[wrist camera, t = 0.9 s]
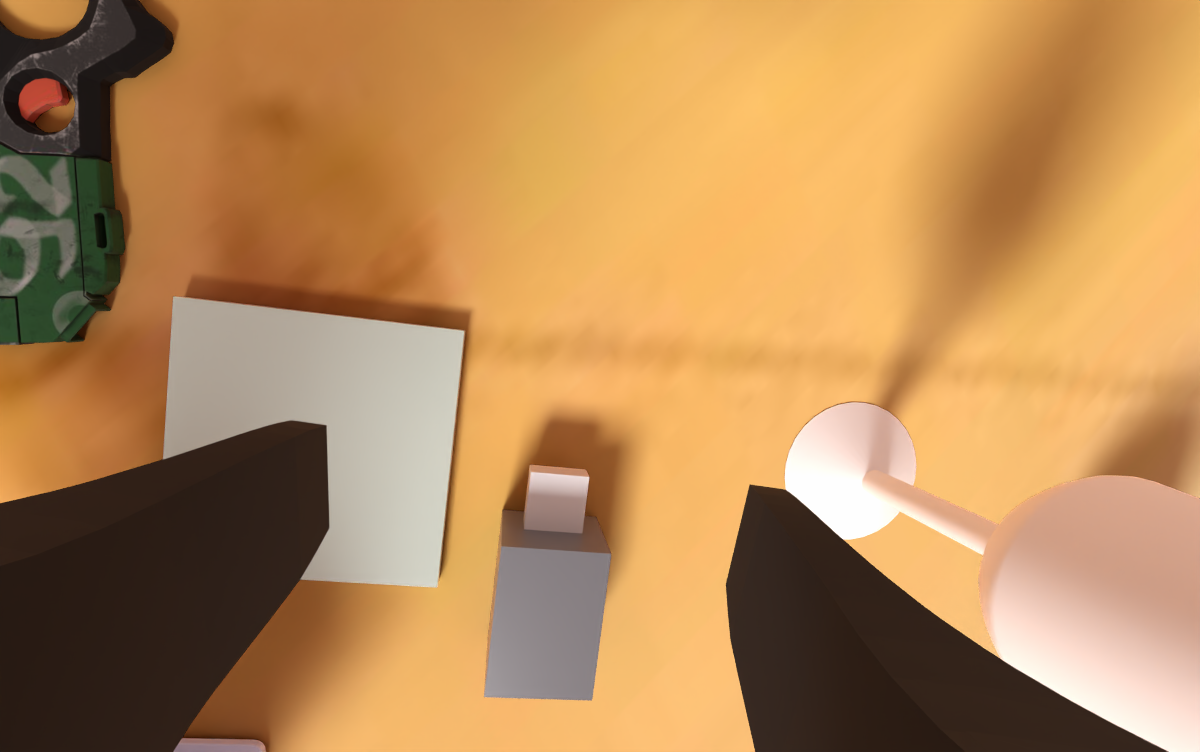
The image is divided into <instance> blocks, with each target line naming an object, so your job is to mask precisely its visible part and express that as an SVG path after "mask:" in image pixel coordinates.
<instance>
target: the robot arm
mask: <svg viewBox="0 0 1200 752" xmlns="http://www.w3.org/2000/svg"><path fill="white" fill-rule="evenodd" d="M329 528H330V526H329V491H328V456H327V425H322V424H315V423H308V422H301V421H294V420H289V421H284V422H279V423H275V424H271V425H268V426H264V427H261V428H258V429H254V430H251V431H248V432H245V433H242V434H239V435H236V436H233V437H230V438H227V439H224V440H221V441H218V442H215V443H212V444H209V445H206V446H203V447H200V448H197V449H194V450H191V451H188V452H185V453H182V454H179V455H176V456H172V457H169V458H166V459H163V460H160V461H156V462H153V463H150V464H147V465H143V466H140V467H137V468H133V469H130V470H127V471H123V472H120V473H117V474H113V475H110V476H107V477H104V478H100V479H97V480H93V481H90V482H86V483H82V484H79V485H75V486H71V487H67V488H63V489H60V490H56V491H52V492H48V493H43V494H39V495H35V496H30V497H26V498H22V499H17V500H13V501H9V502H4V503H0V752H266V749H265V746H264V744H263V743H262V742H260V741H259V740H250V739H201V738H182V737H183V736H184V734H185V733H186V731H187V729H188V728H189V726H190V725H191V723H192V722H193V720H194V719H195V717H196V716H197V714H198V713H199V712H200V710H201V709H202V707H203V706H204V705H205V703H206V702H207V700H208V699H209V698H210V696H211V695H212V693H213V692H214V691H215V689H216V688H217V687H218V686H219V684H220V683H221V682H222V680H223V679H224V678H225V676H226V675H227V674H228V673H229V671H230V670H231V669H232V667H233V666H234V665H235V664H236V662H237V661H238V660H239V658H240V657H241V656H242V655H243V653H244V652H245V651H246V649H247V648H248V647H249V646H250V644H251V643H252V642H253V640H254V639H255V638H256V637H257V635H258V634H259V633H260V631H261V630H262V629H263V628H264V626H265V625H266V624H267V622H268V621H269V620H270V619H271V617H272V616H273V615H274V613H275V612H276V611H277V609H278V608H279V607H280V605H281V604H282V603H283V602H284V600H285V599H286V598H287V596H288V595H289V594H290V592H291V591H292V590H293V588H294V587H295V586H296V584H297V583H298V582H299V580H300V579H301V577H302V576H303V574H304V572H305V571H306V569H307V567H308V566H309V564H310V562H311V561H312V559H313V557H314V556H315V554H316V552H317V550H318V548H319V546H320V545H321V543H322V541H323V539H324V537H325V535H326V534H327V532H328V530H329ZM726 592H727V606H728V618H729V629H730V639H731V644H732V649H733V653H734V658H735V663H736V667H737V672H738V676H739V681H740V686H741V690H742V695H743V699H744V703H745V708H746V712H747V717H748V721H749V726H750V730H751V735H752V739H753V744H754V748H755V752H1168V751H1166V750H1164V749H1162V748H1161V747H1159V746H1157V745H1155V744H1153V743H1151V742H1149V741H1147V740H1145V739H1143V738H1141V737H1139V736H1137V735H1135V734H1133V733H1131V732H1129V731H1127V730H1125V729H1123V728H1121V727H1119V726H1117V725H1115V724H1113V723H1111V722H1109V721H1107V720H1106V719H1104V718H1102V717H1100V716H1098V715H1096V714H1095V713H1093V712H1091V711H1089V710H1087V709H1085V708H1083V707H1082V706H1080V705H1078V704H1076V703H1074V702H1072V701H1071V700H1069V699H1067V698H1065V697H1064V696H1062V695H1060V694H1058V693H1057V692H1055V691H1053V690H1052V689H1050V688H1048V687H1047V686H1045V685H1043V684H1041V683H1040V682H1038V681H1036V680H1035V679H1033V678H1031V677H1030V676H1028V675H1026V674H1024V673H1023V672H1021V671H1019V670H1018V669H1016V668H1014V667H1013V666H1011V665H1009V664H1008V663H1006V662H1005V661H1003V660H1002V659H1000V658H998V657H997V656H995V655H994V654H992V653H990V652H989V651H987V650H986V649H984V648H983V647H981V646H980V645H978V644H977V643H975V642H974V641H972V640H971V639H970V638H968V637H967V636H965V635H964V634H962V633H961V632H959V631H958V630H956V629H955V628H953V627H952V626H951V625H949V624H948V623H946V622H945V621H943V620H942V619H940V618H939V617H938V616H936V615H935V614H934V613H932V612H931V611H929V610H928V609H927V608H925V607H924V606H923V605H921V604H920V603H919V602H917V601H916V600H915V599H914V598H912V597H911V596H910V595H909V594H907V593H906V592H905V591H904V590H902V589H901V588H900V587H898V586H897V585H896V584H895V583H893V582H892V581H891V580H890V579H888V578H887V577H886V576H885V575H884V574H882V573H881V572H880V571H879V570H878V569H876V568H875V567H874V566H873V565H872V564H870V563H869V562H868V561H867V560H866V559H865V558H863V557H862V556H861V555H860V554H859V553H858V552H857V551H855V550H854V549H853V548H852V547H851V546H850V545H849V544H848V543H846V542H845V541H844V540H843V539H842V538H841V537H840V536H839V535H838V534H836V533H835V532H834V531H833V530H832V529H831V528H830V527H829V526H828V525H826V524H825V523H824V522H823V521H822V520H821V519H820V518H819V517H818V516H817V515H816V514H814V513H813V512H812V511H811V510H810V509H809V508H808V507H807V506H805V505H804V504H803V503H802V502H801V501H800V500H799V499H797V498H796V497H795V496H794V495H792V494H791V493H790V492H788V491H787V490H784V489H777V488H770V487H763V486H756V485H750V486H749V490H748V494H747V498H746V502H745V507H744V511H743V515H742V519H741V523H740V528H739V532H738V536H737V540H736V544H735V549H734V553H733V557H732V561H731V565H730V569H729V574H728V578H727V582H726Z"/></svg>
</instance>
